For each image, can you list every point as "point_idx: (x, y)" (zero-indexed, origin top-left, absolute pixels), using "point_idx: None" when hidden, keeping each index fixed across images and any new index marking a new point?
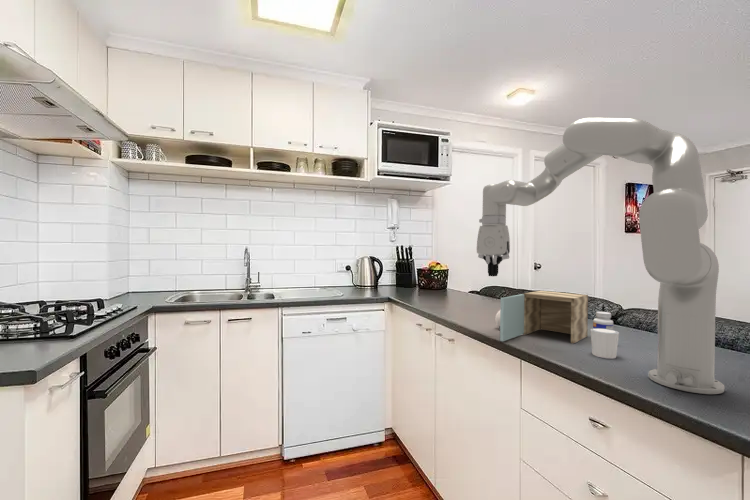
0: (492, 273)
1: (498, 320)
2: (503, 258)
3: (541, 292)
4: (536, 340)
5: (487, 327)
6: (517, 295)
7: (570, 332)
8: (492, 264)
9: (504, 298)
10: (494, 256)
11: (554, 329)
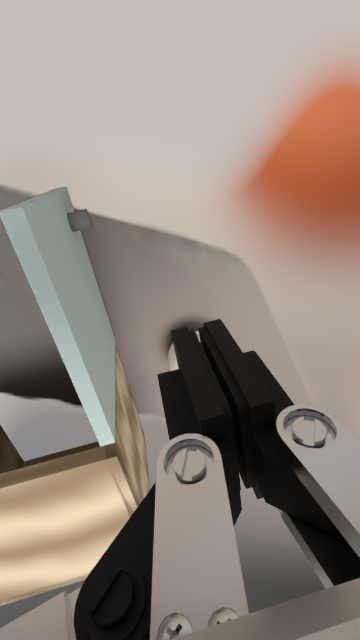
0: (178, 341)
1: (199, 336)
2: (36, 632)
3: (106, 531)
4: (38, 322)
5: (236, 321)
6: (85, 395)
7: (57, 456)
8: (208, 417)
9: (4, 225)
10: (227, 603)
11: (99, 445)
